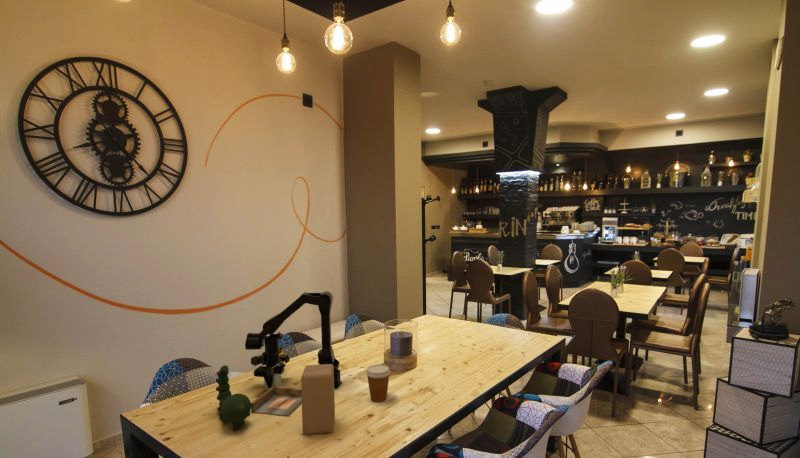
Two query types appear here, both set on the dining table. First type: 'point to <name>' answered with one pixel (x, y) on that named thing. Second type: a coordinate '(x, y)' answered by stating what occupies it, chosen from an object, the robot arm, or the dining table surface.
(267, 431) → the dining table surface
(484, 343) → the dining table surface
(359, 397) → the dining table surface
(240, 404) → the toy figurine
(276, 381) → the cube
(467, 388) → the dining table surface
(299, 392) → the arena
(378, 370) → the disposable coffee cup
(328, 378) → the wooden block
